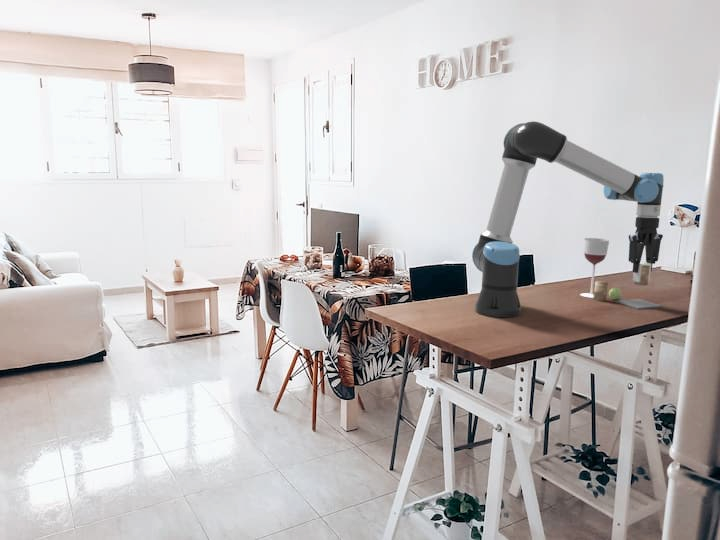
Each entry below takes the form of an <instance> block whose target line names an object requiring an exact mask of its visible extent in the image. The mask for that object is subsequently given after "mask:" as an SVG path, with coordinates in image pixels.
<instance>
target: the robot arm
mask: <svg viewBox="0 0 720 540" xmlns="http://www.w3.org/2000/svg"><path fill="white" fill-rule="evenodd" d="M503 148H504V149H503V153H502V156H501V160H502V162H503V164H504V166H503V169H502V172H501V176H500V180H499V183H498V187H497V190H496V191H497V192H496V194H495V198H494V202H493V205H492V208H491V212H490V214H489V215H490V216H489V219H488V222H487V225H486V226H487V227H486V229H485V230H484V231H483V232H481V233H480V236H479V239H478V242H477V243H476V244H475V246H474V248H472V249H473V250H472V252H471V253H472V254H471V257H472V258H471V259H472V262H473V264H474V266H475V268H476V269H477V270H478V271H479V272H481V273H482V278H481V281H482V282H481V290H480V291H479V294H478V297H477V300H476V302H475V307H474V308H475V309H474V310H475V312H476V313H478V314H481V315H483V316H487V317H494V318H496V317H497V318H515V317H517V316H520V315H521V314H522V313H521V312H522V306H521V302H520V298H519V294H518V282H519V281H518V279H519V278H518V277H519V265H520V257H521V256H520V248H519V247H518V246H517V245H516V244H514V242H513V240H512V238H511V233H512V230H513V227H514V224H515V220H516V217H517V213H518V210H519V207H520V203H521V199H522V196H523V193H524V192H523V191H524V190H525V189H524V188H525V185H526V182H527V178H528V174H529V172H530V170H531V169H533V168H534V167H535V166H536V163H537V161H538V159H540V160H543V161H546V162H548V163H550V164H552V163H557V164H559V165H561V166H562V167H566V168H567V169H569V170H572V171H574V172H575V173H578V174H579V175H582V176H584V177H586V178H588V179H590V180H592V181H594V182H596V183H598V184H599V185H602V186H603V195H604V197H605V199H607V200H614V201H617V200H618V201H619V200H620V201H629V202H635V203H636V205H637V206H636V213H635V214H636V217H635V223H634V224H635V227H636V229H635V232H634V233H633V234H629V235H628V240H629V245H628V247H629V249H628V262H630V263H631V264H632V274H633V275H632V282H634V281H636V282H640V277H641V268H642V264H644V265H649V266H650V268H649V278H648V283H649V282H650V281H651V273H652V272H653V265H655V264H656V262H658V261H659V256H660V255H659V254H660V248H661V241H662V239H663V237H664V235H663V234H661V233H660V234H659V233H658V228H660V227H659V226H660V218H659V217H660V216H661V209H662V198H663V189H664V180H665V179H664V174H663V173H660V172H642V173H640V175H637V174H635V173H633V172H631V171H629V170H627V169H626V168H623V167H621V166H619V165H617V164H616V163H613V162H611V161H609V160H608V159H605V158H603V157H601V156H599V155H597V154H595V153H593V152H592V151H589V150H588V149H585V148H583V147H581V146H579V145H577V144H575V143H573V142H572V141H569V140H568V137H567V136H566V135H565V134H564V133H560V132H559V131H557V130H555V129H553V128H552V127H550V126H548V125H547V124H544V123H541V122H539V121H535V120H533V121H528V122H522V123H518V124H516V125H513V126H512V127H511V128H510V129H509V130H508V131H507V132H506V134H505V135H504V138H503ZM644 249H645V262H643V263H641V261H642V257H643V254H644V253H643V252H644Z"/></svg>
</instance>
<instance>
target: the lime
mask: <svg viewBox="0 0 720 540" xmlns="http://www.w3.org/2000/svg"><path fill="white" fill-rule="evenodd" d="M622 296H623V293H622V290H621V289H620V288H618V287H611V289H609V291H608V297H609V298H610V299H612V301H613V300H614V301H616V300H620V299H621V297H622Z"/></svg>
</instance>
